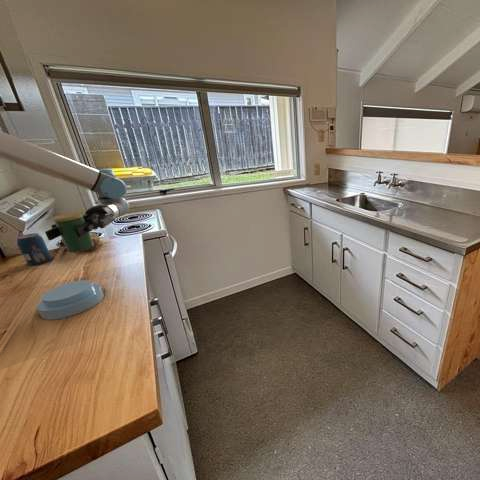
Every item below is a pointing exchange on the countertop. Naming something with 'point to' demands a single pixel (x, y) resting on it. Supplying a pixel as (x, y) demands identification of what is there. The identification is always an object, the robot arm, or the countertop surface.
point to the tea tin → (73, 232)
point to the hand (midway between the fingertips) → (63, 234)
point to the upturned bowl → (69, 299)
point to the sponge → (95, 240)
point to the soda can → (34, 249)
